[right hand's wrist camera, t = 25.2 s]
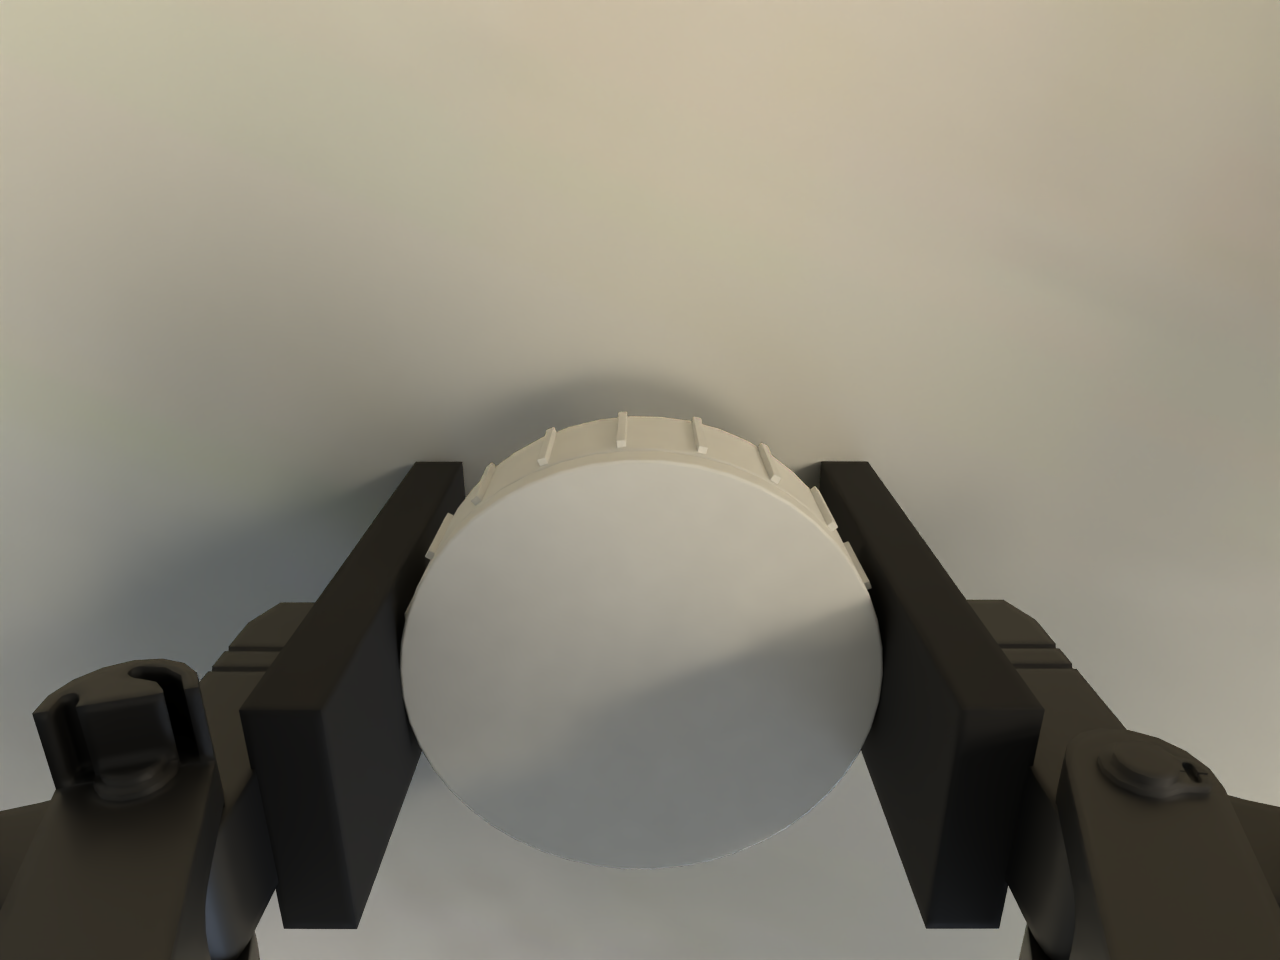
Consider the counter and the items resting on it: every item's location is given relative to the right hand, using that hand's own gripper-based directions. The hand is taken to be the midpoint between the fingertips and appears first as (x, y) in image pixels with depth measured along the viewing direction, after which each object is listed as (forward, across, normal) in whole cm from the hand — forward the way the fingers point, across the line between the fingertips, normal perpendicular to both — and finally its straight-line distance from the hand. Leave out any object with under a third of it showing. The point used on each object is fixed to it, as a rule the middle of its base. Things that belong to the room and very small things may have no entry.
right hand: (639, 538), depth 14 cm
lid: (-4, 0, 0) cm, 4 cm away
